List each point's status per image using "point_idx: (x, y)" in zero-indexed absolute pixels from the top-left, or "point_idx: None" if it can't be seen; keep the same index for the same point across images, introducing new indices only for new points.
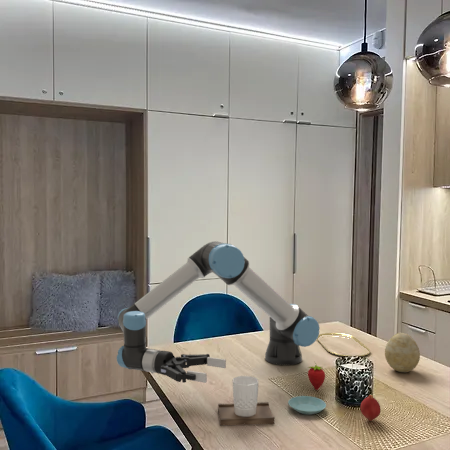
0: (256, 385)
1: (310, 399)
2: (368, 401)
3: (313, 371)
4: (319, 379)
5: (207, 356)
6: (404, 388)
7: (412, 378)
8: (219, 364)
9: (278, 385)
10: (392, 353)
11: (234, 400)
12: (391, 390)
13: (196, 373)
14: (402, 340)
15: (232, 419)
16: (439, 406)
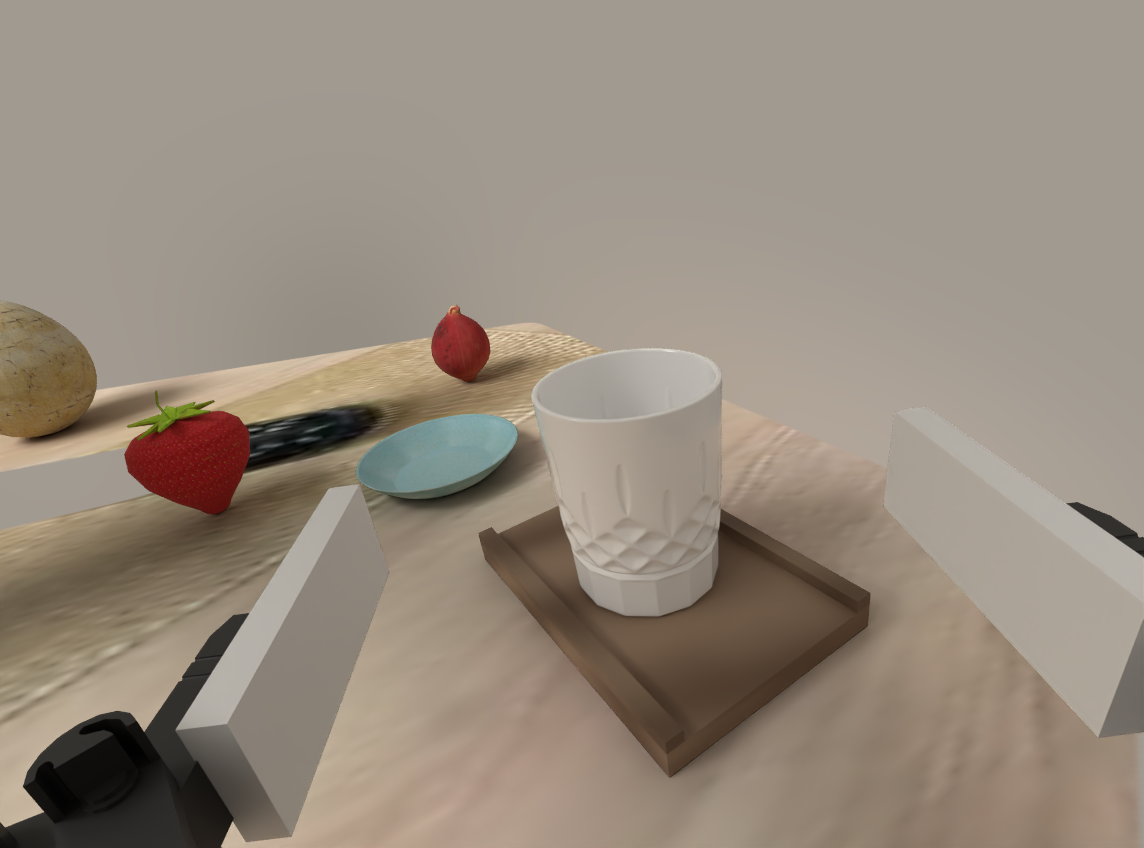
0: (629, 364)
1: (371, 469)
2: (470, 320)
3: (203, 423)
4: (248, 432)
5: (131, 763)
6: (215, 400)
7: (130, 408)
8: (355, 595)
9: (120, 649)
10: (40, 365)
11: (707, 518)
12: (231, 408)
13: (1019, 484)
14: (24, 313)
15: (799, 555)
16: (339, 355)
